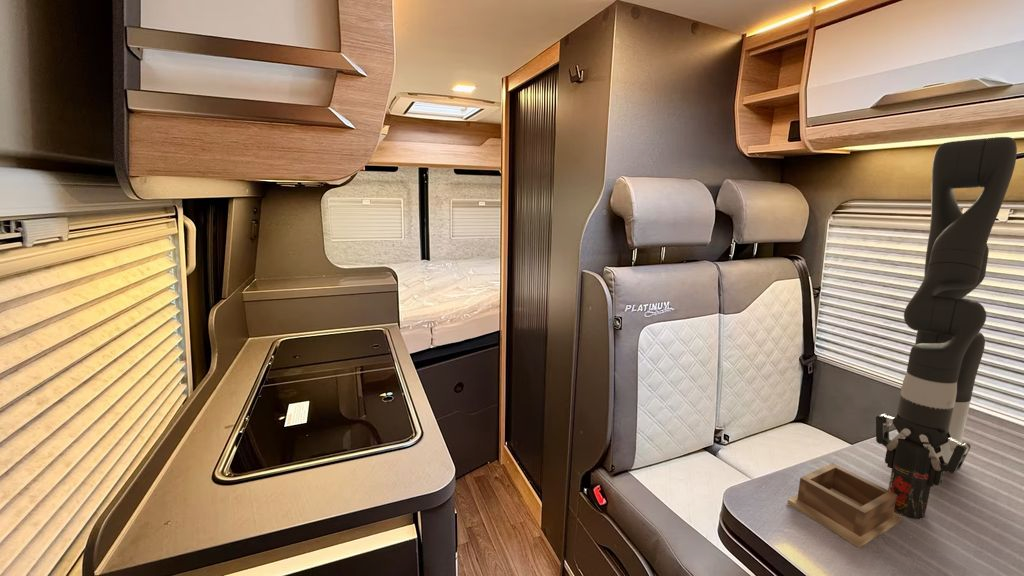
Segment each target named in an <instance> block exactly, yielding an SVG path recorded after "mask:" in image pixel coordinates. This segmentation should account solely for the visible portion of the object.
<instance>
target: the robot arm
mask: <svg viewBox="0 0 1024 576" xmlns="http://www.w3.org/2000/svg"><path fill="white" fill-rule="evenodd" d="M1017 150H1018V148H1017V142H1016V140H1015V139H1014V138H1012V137H1009V136H995V137H988V138H987V137H985V138H975V139H965V140H955V141H948V142H944V143H941V144H940V145H939V146H938V147H937V148H936V150H935V153H934V155H933V159H932V167H931V197H930V198H931V199H930V200H931V201H930V202H931V205H930V206H931V211H930V223H929V224H930V225H929V231H928V232H929V233H928V240H927V245H926V253H925V261H924V262H925V264H924V276H923V277H924V278H923V280H922V282H921V284H920V285H919V287H918V289H917V291H916V292H915V293H914V295H913V296H912V298H911V299H910V300H909V302H908V304H907V305H906V306H905V309H904V312H903V319H904V323H905V324H906V325H907V327H908V328H909V329H911V330H912V331H916V337H915V342H914V343H915V344H914V345H912V347H911V349H910V352H909V357H908V363H907V367H906V373H905V376H904V378H903V379H902V384H901V387H900V395H899V401H898V405H897V411H896V416H894V417H893V416H890V415H889V414H887V413H881V414H879V415H877V416H876V417H875V433H876V434H875V441H876V443H878V444H880V445H882V446H883V447H885V448H886V453H885V456H884V457H885V458H884V462H885V464H887V465H886V467H887V468H888V469H891V470H892V467H893V462H894V456H895V451H896V446H897V445H898V439H899V438H900V439H902V440H908V441H911V442H913V443H916V444H918V445H921V446H923V447H924V448H925V449H927V450H930V453H929V458H931V464H932V466H933V468H931V471H930V476H929V481H928V485H929V486H931V488H934V487H937V486H939V485H941V484H942V483H943V481H944V476H945V472H948V473H950V474H954V473H956V472H957V471H959V470H960V469H962V466H963V464H964V463H965V459H966V458H967V456H968V454H969V452H970V450H971V447H972V446H971V444H970V443H969V442H965V441H963V437H964V432H965V428H966V423H967V419H968V413H969V410H970V406H971V405H970V404H971V402H972V401H971V400H972V396H973V391H974V386H975V381H976V378H977V373H978V371H979V367H980V364H981V361H982V358H983V354H984V351H985V345H986V339H985V336H984V335H983V333H981V330H982V329H983V327H984V325H985V323H986V320H987V312H986V309H985V307H984V306H983V305H982V304H981V303H980V302H979V301H976V300H973V299H972V300H971V299H964V297H966V296H967V295H968V294H970V293H971V292H972V291H974V290H975V289H976V288H977V287H978V286H979V285H981V283H982V282H983V280H985V277H986V273H987V265H988V258H989V252H990V251H989V246H988V240H989V238H990V234H991V232H992V229H993V227H994V224H995V222H996V220H997V217H998V215H999V212H1000V209H1001V208H1002V205H1003V202H1004V200H1005V196H1006V193H1007V191H1008V189H1009V188H1008V187H1009V185H1010V183H1011V180H1012V177H1013V173H1014V171H1015V166H1016V161H1017V152H1018V151H1017ZM972 188H973V189H976V188H977V189H978V188H982V191H981V192H980V195H979V196H978V198H977V199H976V200H975V202H973V204H972V205H971V206H970V207H969V208H968V209H967V210H965V211H964V212H963V211H962V209H961V208H960V206H959V204H958V201H957V198H956V195H955V189H972ZM892 424H893V426H894V427H895V429H896V431H897V432H898V433H897V435H895V436H894V437H893V438H892V439H890V426H892ZM937 447H939V451H938V452H937V453H935V451H934V449H935V448H937Z"/></svg>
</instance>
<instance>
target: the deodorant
mask: <svg viewBox="0 0 1024 576" xmlns="http://www.w3.org/2000/svg"><path fill="white" fill-rule="evenodd" d="M934 451H935V453H937V452H938V451H939V447H937V448H935V449H934ZM929 453H930V450H927V449H925V448H924V447H923V446H921V445H918V444H916V443H913V442H911V441H908V440H902V439H900V438H899V439H898V445H897V446H896V451H895V456H894V462H893V467H892V469H891V472H890V478H889V482H888V487H887V488H888V489H887V490H889V491H891V492H893V493H895V494H897V497H896V502H895V508H894V513H896V512H897V513H896V514H898V513H899V514H898V515H900V514H901V515H900V516H902V517H905V516H906V517H905V518H909V519H913V520H921V519H920V518H922V519H924V518H925V517H926V516H925V515H926V513H927V512H926V511H927V509H928V508H927V507H928V502H929V497H930V493H931V488H932V486H929V485H928V481H929V476H930V471H931V468H933V466H932V464H931V458H929Z"/></svg>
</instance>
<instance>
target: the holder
mask: <svg viewBox="0 0 1024 576" xmlns="http://www.w3.org/2000/svg"><path fill="white" fill-rule="evenodd" d="M896 497H897V494H895V493H893V492H891V491H889V490H888V489H887V488H884V487H882V486H880V485H878V484H876V483H874V482H872V481H870V480H868V479H867V478H864V477H862V476H860V475H858V474H856V473H854V472H852V471H850V470H847V469H845V468H843V467H842V466H840V465H837V464H835V463H834V462H832V463H830V464H828V465H825V466H822V467H821V468H818V469H816V470H814V471H812V472H810V473H808V474H806V475H803V476H801V477H800V478H799V484H798V492H797V494H796V495H794V496H791V497H790V498H788V499H787V505H789V506H790V507H792V508H794V509H796V510H797V511H799V512H800V513H802V514H804V515H805V516H807V517H809V519H812V520H814V521H815V522H816V523H818V524H820V525H821V526H823V527H825V528H826V529H828V530H829V531H831V532H833V533H835V534H836V535H837V536H839V537H840V538H843V539H844V540H845V541H848V542H849V543H851V544H852V545H854V546H855V547H857V548H858V549H860V548H861V547H863V546H865V545H866V544H868V543H869V542H871V541H872V540H875V539H876V538H877V537H879V536H881V535H883V534H884V533H885V532H887V531H889V530H891V529H892V528H893V527H895V526H896V525H898V524H900V523H901V522H902V521H903V515H900V514H898V513H896V512H895V511H894V508H895V502H896Z"/></svg>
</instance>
